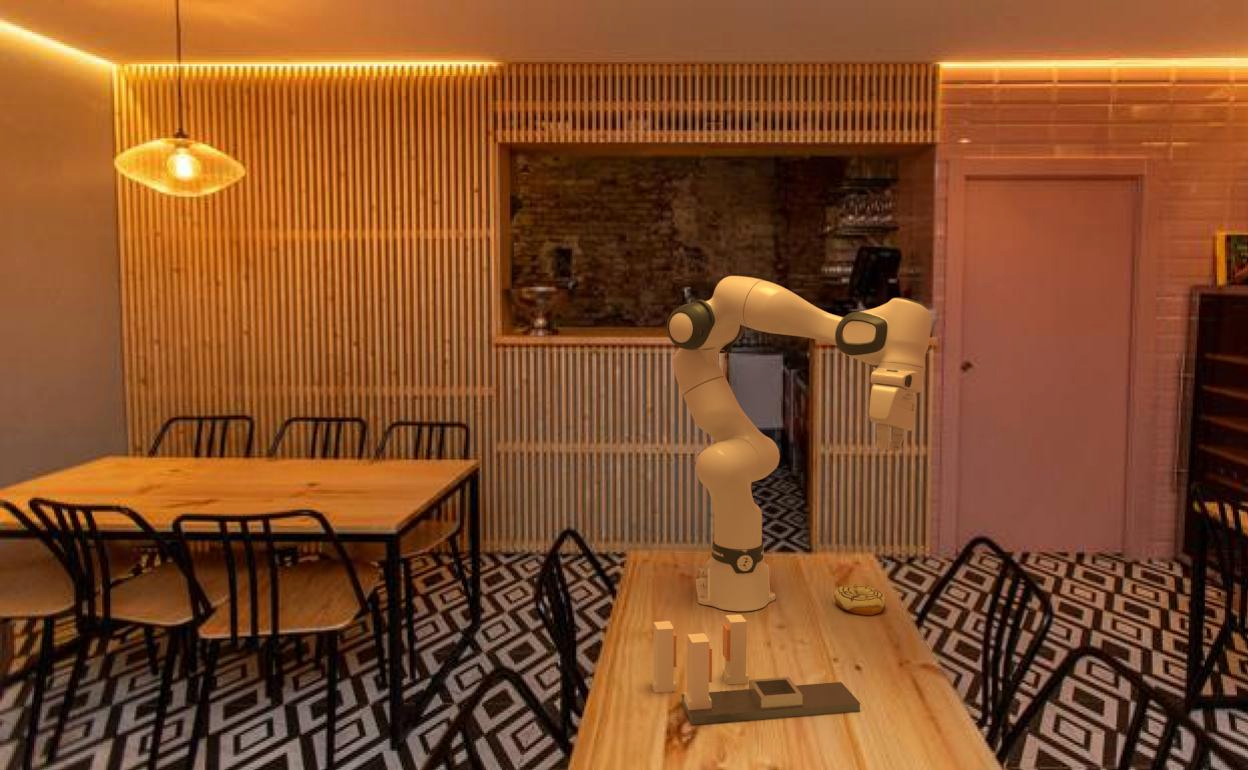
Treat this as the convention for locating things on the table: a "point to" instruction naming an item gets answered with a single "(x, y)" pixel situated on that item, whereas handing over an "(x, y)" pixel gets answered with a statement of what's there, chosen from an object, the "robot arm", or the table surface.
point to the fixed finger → (698, 672)
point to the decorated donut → (859, 599)
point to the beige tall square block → (734, 650)
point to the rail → (774, 701)
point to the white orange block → (664, 657)
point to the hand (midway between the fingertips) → (888, 450)
